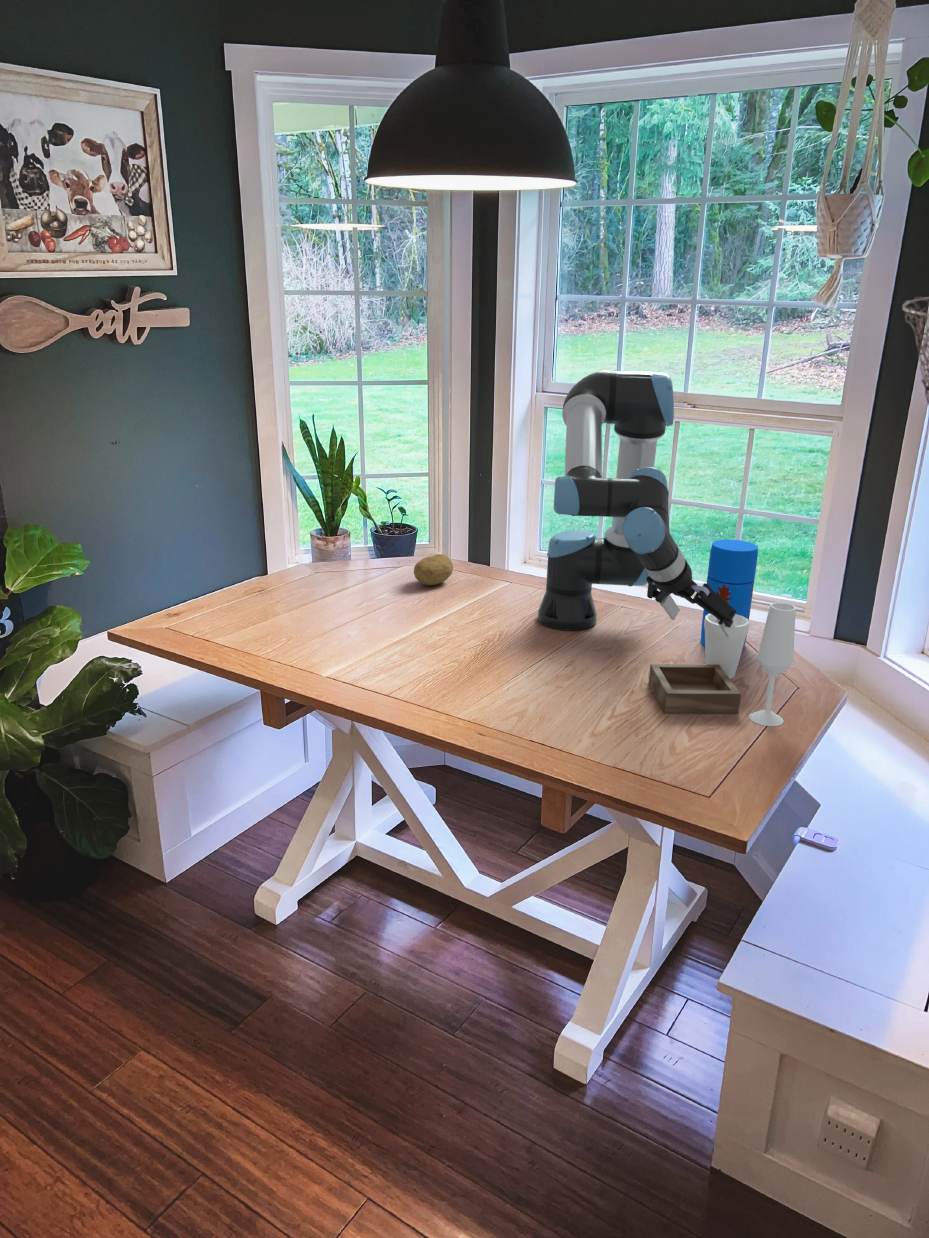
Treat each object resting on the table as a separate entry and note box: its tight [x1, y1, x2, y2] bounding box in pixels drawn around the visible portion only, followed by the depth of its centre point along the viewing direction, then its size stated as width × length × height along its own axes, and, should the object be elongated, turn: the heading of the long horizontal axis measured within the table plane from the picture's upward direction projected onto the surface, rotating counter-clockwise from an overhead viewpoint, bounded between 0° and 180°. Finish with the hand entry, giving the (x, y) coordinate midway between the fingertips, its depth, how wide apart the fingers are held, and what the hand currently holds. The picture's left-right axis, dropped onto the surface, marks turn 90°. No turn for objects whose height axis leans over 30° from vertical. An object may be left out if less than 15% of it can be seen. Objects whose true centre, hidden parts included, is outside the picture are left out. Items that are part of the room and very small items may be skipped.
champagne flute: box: [748, 601, 797, 727], centre depth 176 cm, size 7×7×24 cm
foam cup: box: [704, 614, 750, 680], centre depth 199 cm, size 10×9×13 cm
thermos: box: [700, 539, 759, 651], centre depth 214 cm, size 11×11×25 cm
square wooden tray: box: [648, 663, 742, 715], centre depth 188 cm, size 15×15×4 cm
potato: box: [413, 553, 454, 587], centre depth 258 cm, size 10×14×8 cm
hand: (702, 622), depth 190 cm, fingers open, 13 cm apart
